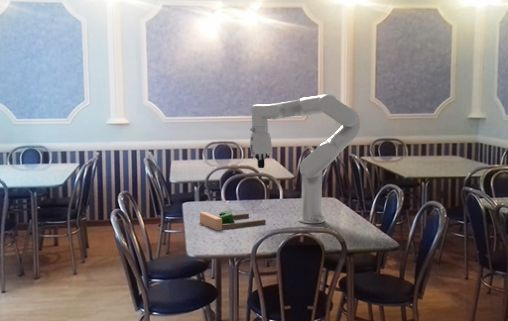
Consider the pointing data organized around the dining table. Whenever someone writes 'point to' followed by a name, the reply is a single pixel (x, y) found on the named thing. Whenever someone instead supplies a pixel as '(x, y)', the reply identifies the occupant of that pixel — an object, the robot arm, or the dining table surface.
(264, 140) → the robot arm
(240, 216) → the guide rails
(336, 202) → the dining table surface
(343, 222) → the dining table surface
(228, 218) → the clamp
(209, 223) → the end stop
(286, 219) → the dining table surface
